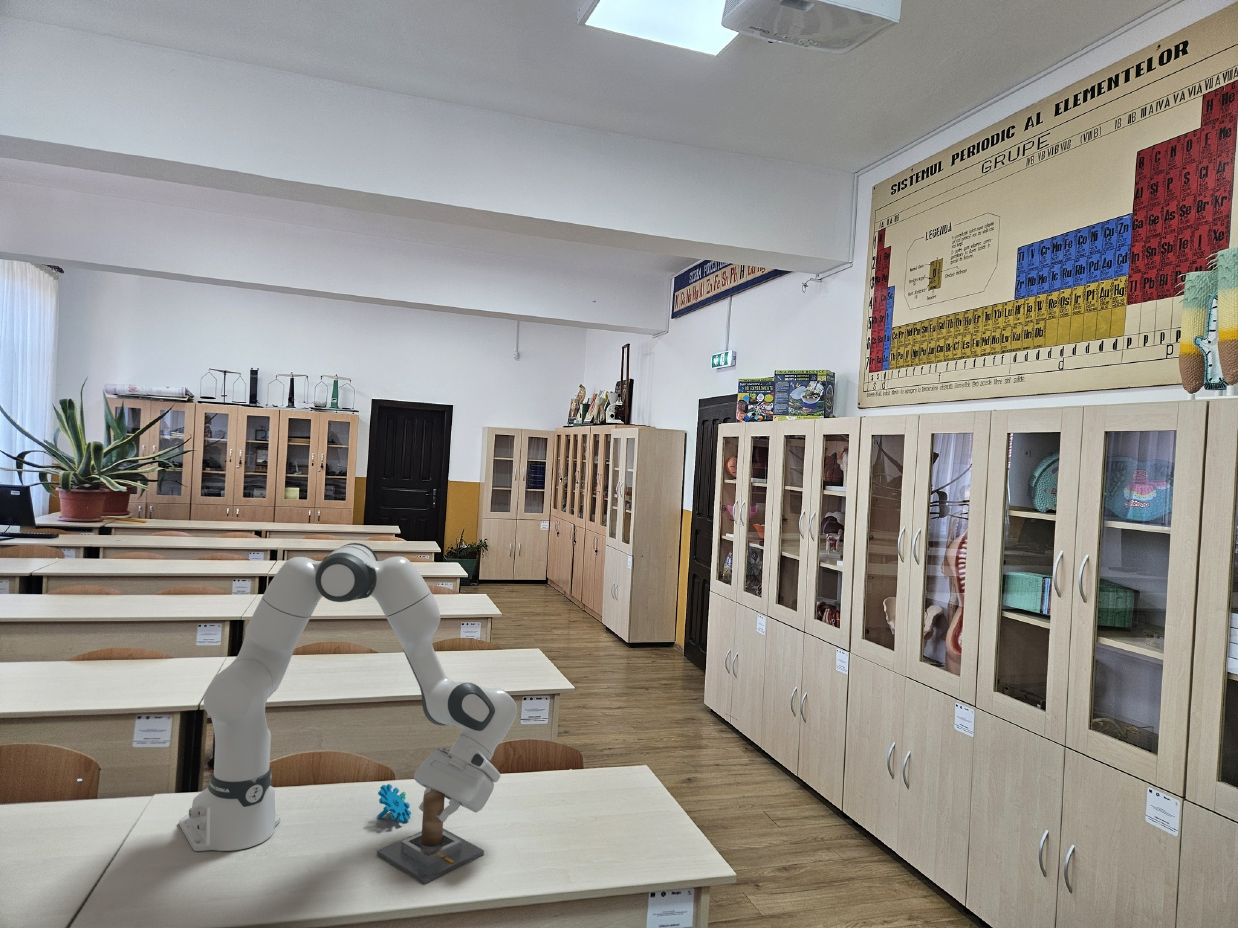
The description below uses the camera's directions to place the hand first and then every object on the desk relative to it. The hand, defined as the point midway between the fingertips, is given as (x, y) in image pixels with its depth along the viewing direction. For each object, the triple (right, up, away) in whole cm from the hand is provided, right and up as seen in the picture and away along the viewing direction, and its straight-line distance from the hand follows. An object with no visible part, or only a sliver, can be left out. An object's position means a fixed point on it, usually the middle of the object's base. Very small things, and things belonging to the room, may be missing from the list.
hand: (430, 815), depth 168 cm
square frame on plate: (0, -9, +1) cm, 9 cm away
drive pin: (0, -6, +1) cm, 6 cm away
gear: (-12, -8, +16) cm, 22 cm away
